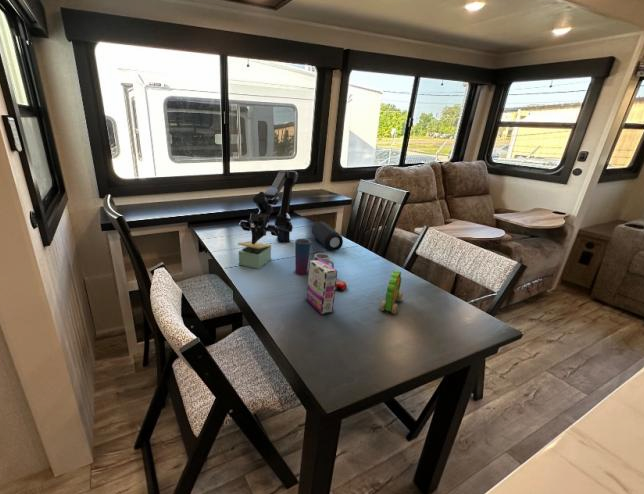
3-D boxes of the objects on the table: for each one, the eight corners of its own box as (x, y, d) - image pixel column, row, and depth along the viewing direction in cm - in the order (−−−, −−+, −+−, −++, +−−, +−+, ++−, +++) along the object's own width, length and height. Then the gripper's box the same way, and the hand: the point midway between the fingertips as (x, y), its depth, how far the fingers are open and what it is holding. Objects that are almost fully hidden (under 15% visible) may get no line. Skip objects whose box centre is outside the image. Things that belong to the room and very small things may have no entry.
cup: (310, 271, 141) (313, 240, 136) (305, 277, 136) (307, 245, 130) (296, 268, 144) (298, 237, 138) (291, 273, 138) (292, 242, 132)
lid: (258, 248, 138) (258, 247, 138) (237, 244, 142) (238, 243, 142) (270, 246, 150) (271, 244, 150) (251, 242, 154) (251, 241, 154)
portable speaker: (343, 251, 164) (345, 233, 160) (325, 252, 162) (327, 234, 158) (325, 235, 187) (326, 219, 183) (309, 236, 185) (310, 220, 181)
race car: (347, 287, 128) (349, 278, 126) (344, 292, 123) (345, 284, 122) (317, 279, 133) (318, 271, 132) (313, 285, 129) (313, 276, 127)
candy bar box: (333, 312, 110) (338, 270, 104) (321, 315, 108) (325, 272, 102) (317, 297, 120) (320, 258, 114) (306, 299, 118) (308, 260, 112)
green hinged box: (258, 268, 142) (258, 255, 140) (238, 264, 146) (238, 251, 144) (270, 259, 153) (271, 246, 150) (251, 255, 157) (251, 242, 154)
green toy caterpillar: (387, 295, 122) (394, 260, 116) (402, 299, 119) (409, 263, 114) (377, 314, 109) (384, 276, 104) (393, 319, 107) (401, 280, 101)
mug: (310, 269, 143) (311, 255, 141) (319, 264, 148) (320, 252, 145) (329, 276, 137) (330, 262, 134) (337, 271, 141) (338, 258, 139)
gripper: (240, 203, 146) (228, 232, 141) (276, 208, 138) (265, 239, 133) (249, 216, 155) (238, 243, 150) (283, 221, 148) (272, 250, 143)
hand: (252, 243), depth 144 cm, fingers closed, pressing on lid
